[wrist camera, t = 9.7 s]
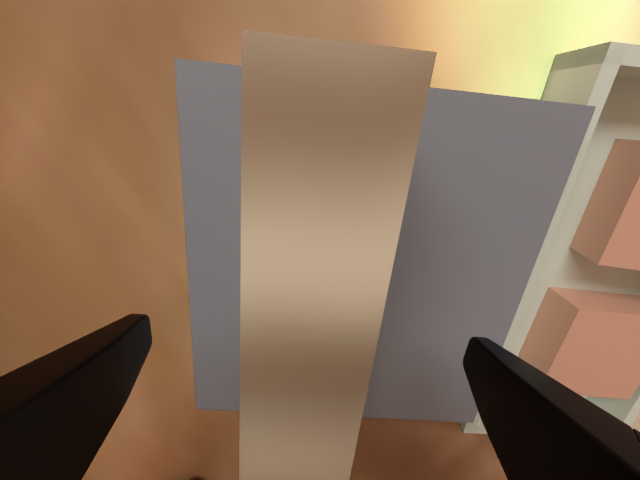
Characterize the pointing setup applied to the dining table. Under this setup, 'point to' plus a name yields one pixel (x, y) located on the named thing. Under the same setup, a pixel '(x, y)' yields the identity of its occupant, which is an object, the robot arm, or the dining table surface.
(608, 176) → the tile near
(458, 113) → the board
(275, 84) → the strip
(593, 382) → the tile far
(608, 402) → the tray
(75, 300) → the dining table surface
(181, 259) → the dining table surface
